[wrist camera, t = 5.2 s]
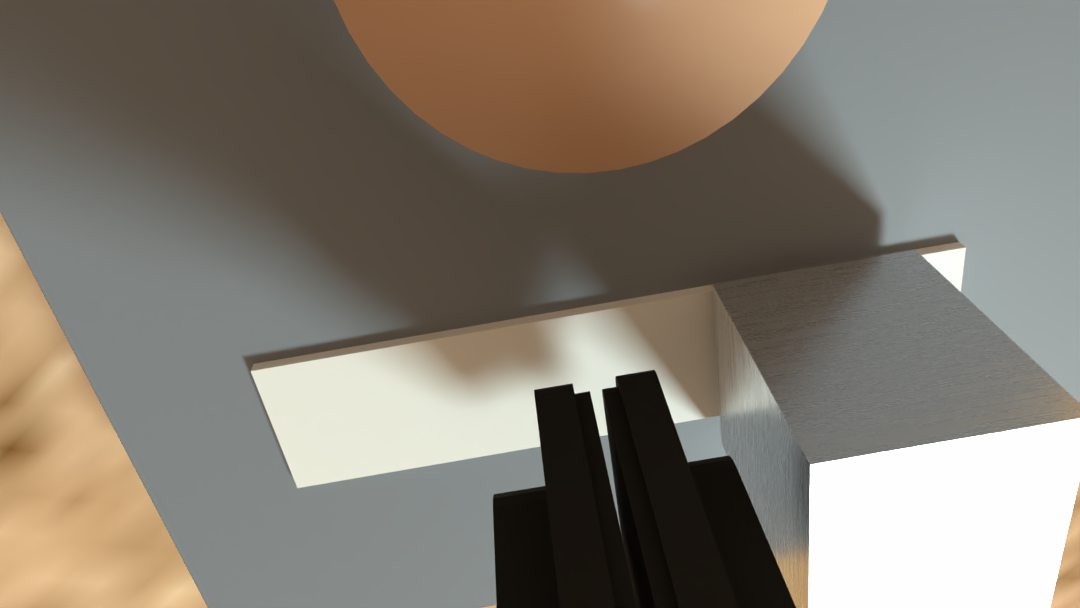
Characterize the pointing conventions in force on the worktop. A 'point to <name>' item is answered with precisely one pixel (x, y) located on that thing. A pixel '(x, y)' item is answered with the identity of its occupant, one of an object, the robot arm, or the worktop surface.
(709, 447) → the panel
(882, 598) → the slider knob
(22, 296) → the worktop surface
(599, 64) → the peach knob
